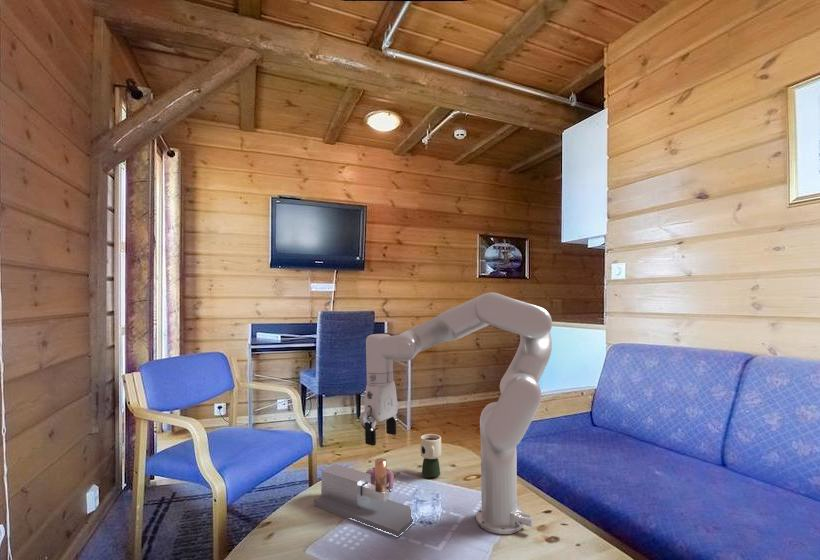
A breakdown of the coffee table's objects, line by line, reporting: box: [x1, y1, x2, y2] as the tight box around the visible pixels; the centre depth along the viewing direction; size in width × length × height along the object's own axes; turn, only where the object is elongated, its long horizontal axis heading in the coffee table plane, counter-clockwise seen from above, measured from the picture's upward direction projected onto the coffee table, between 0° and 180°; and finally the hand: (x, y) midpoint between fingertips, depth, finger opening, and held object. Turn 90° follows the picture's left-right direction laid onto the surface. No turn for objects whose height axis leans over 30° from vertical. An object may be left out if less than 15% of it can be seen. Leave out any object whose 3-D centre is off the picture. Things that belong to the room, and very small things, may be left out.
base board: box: [313, 496, 413, 536], centre depth 116 cm, size 30×12×2 cm, turn 57°
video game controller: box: [365, 467, 395, 490], centre depth 131 cm, size 10×5×7 cm, turn 85°
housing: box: [320, 463, 371, 509], centre depth 120 cm, size 14×6×7 cm, turn 57°
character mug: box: [419, 433, 442, 479], centre depth 139 cm, size 11×7×13 cm, turn 4°
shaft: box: [361, 457, 390, 502], centre depth 118 cm, size 20×3×10 cm, turn 57°
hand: (381, 439), depth 114 cm, fingers open, 9 cm apart
